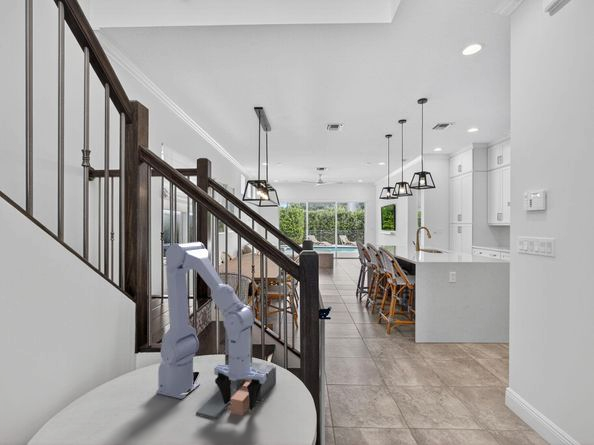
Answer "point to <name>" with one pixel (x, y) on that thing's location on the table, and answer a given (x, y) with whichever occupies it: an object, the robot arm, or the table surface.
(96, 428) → the table surface
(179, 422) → the table surface
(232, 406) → the salmon rectangular block
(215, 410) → the pad
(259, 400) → the dispenser
